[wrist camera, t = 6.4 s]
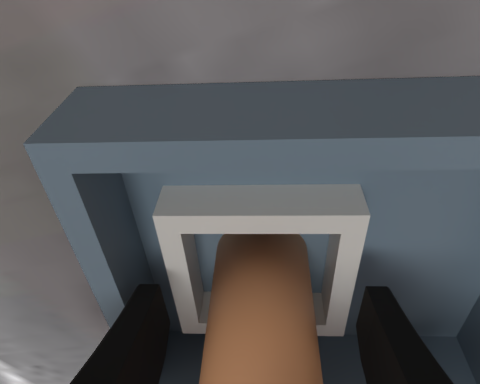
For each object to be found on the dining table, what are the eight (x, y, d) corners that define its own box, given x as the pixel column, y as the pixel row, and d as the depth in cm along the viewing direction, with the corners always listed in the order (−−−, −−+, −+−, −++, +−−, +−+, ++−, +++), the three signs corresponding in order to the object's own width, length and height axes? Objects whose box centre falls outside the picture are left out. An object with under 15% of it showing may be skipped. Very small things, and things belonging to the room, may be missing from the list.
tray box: (616, 72, 9) (733, 132, 7) (463, 334, 17) (495, 405, 15) (77, 87, 10) (23, 143, 8) (157, 328, 18) (141, 394, 16)
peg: (324, 261, 13) (365, 513, 8) (252, 292, 15) (245, 527, 9) (273, 205, 12) (281, 469, 7) (198, 245, 13) (152, 492, 8)
